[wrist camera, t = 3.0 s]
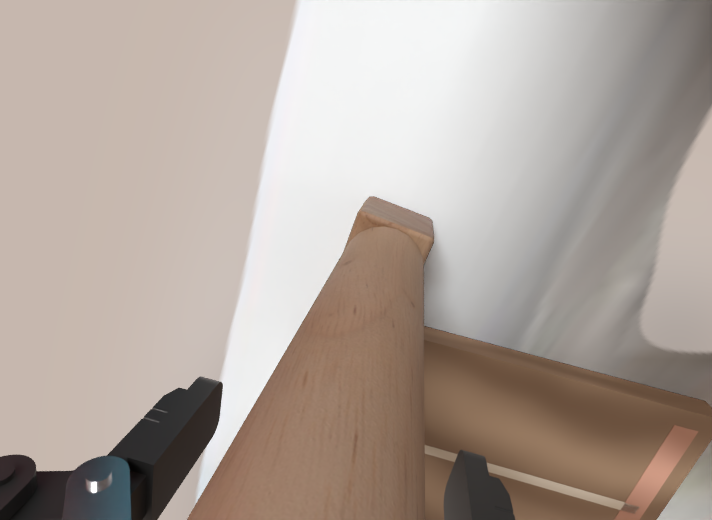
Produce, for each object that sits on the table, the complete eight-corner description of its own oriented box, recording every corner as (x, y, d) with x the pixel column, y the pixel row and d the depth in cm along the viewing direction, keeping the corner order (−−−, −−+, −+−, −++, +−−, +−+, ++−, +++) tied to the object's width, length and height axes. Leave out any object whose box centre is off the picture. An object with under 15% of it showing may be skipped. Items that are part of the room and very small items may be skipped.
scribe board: (414, 323, 23) (413, 337, 21) (705, 401, 22) (724, 421, 20) (361, 497, 28) (357, 518, 26) (595, 568, 27) (605, 593, 25)
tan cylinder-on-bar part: (308, 357, 25) (69, 858, 8) (368, 192, 21) (150, 500, 4) (364, 379, 25) (242, 934, 8) (435, 218, 21) (490, 640, 4)
